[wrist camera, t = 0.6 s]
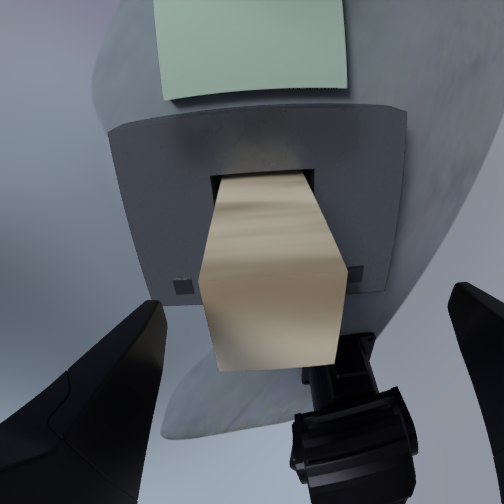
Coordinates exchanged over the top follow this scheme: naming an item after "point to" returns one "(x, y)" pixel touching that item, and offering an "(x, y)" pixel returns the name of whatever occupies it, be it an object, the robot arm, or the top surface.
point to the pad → (249, 45)
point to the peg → (271, 275)
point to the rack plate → (257, 160)
